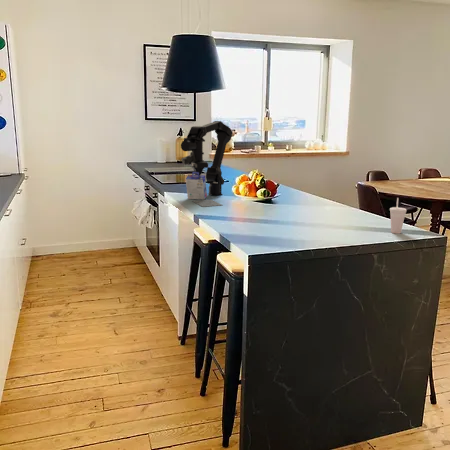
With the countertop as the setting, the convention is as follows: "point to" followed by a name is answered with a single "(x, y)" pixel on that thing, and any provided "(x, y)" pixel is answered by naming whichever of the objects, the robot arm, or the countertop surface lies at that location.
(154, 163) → the countertop surface
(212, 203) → the mat
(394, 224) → the smoothie
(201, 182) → the ink cartridge box
